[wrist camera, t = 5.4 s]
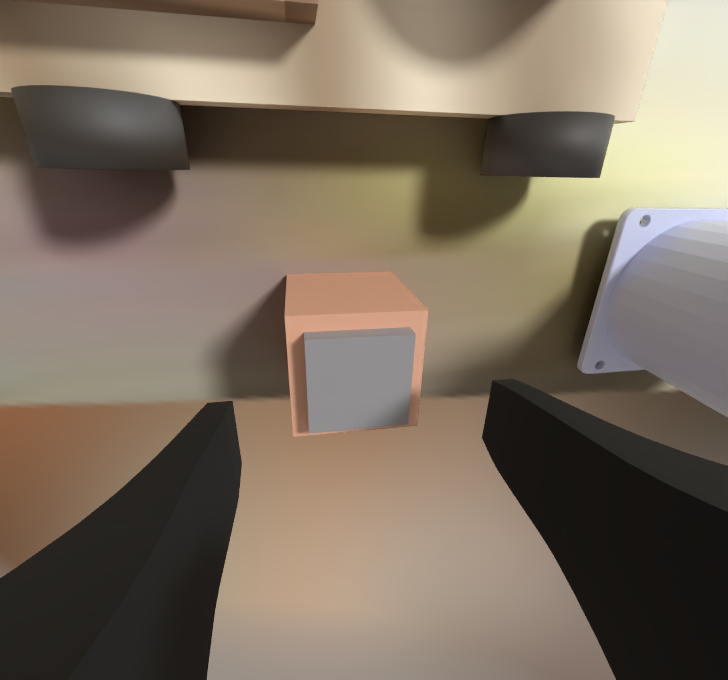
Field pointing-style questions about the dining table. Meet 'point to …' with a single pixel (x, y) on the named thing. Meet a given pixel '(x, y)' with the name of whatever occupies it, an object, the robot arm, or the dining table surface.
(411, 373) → the orange rectangular block
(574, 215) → the dining table surface
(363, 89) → the chassis
